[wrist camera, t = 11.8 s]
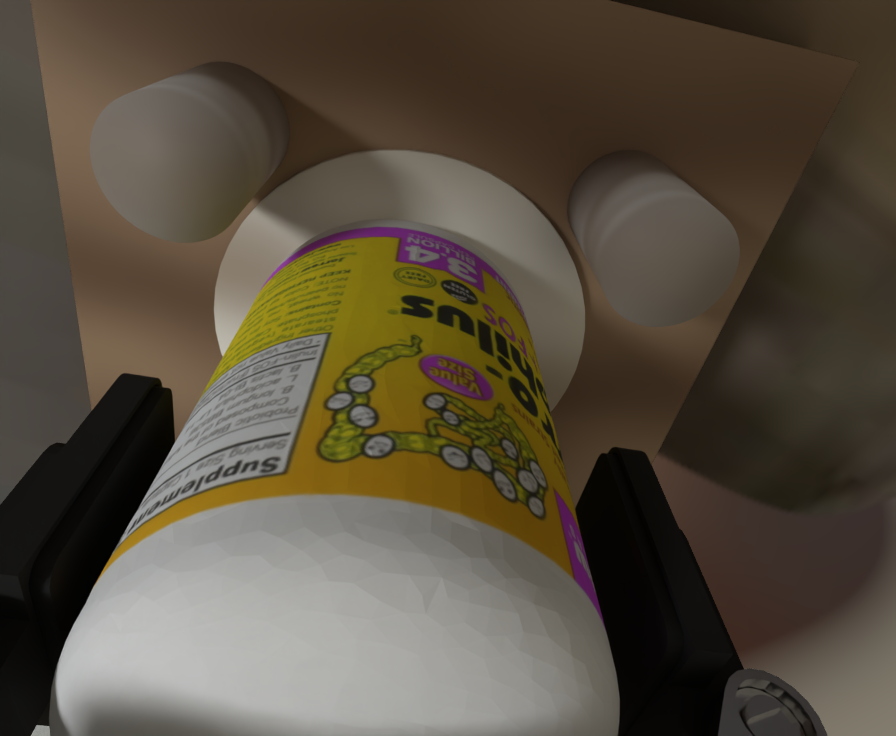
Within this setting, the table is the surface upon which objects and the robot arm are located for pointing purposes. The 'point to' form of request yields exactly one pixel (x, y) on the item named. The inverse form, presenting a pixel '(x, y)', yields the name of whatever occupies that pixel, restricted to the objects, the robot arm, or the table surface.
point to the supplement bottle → (355, 524)
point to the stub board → (428, 174)
